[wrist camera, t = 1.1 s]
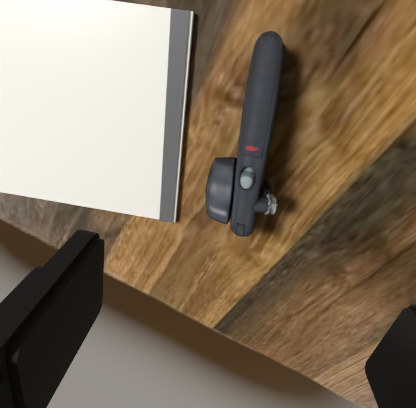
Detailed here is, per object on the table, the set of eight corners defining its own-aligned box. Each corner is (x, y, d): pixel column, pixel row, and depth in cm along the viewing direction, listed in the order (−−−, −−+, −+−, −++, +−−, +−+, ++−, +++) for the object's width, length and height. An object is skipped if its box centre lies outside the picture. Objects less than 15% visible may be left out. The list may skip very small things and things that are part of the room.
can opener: (265, 221, 33) (268, 252, 28) (203, 210, 33) (195, 238, 28) (316, 40, 24) (333, 38, 19) (232, 26, 25) (228, 21, 20)
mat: (193, 12, 24) (192, 11, 24) (176, 219, 34) (174, 223, 33) (-59, -22, 25) (-67, -25, 25) (-7, 187, 35) (-13, 190, 34)
